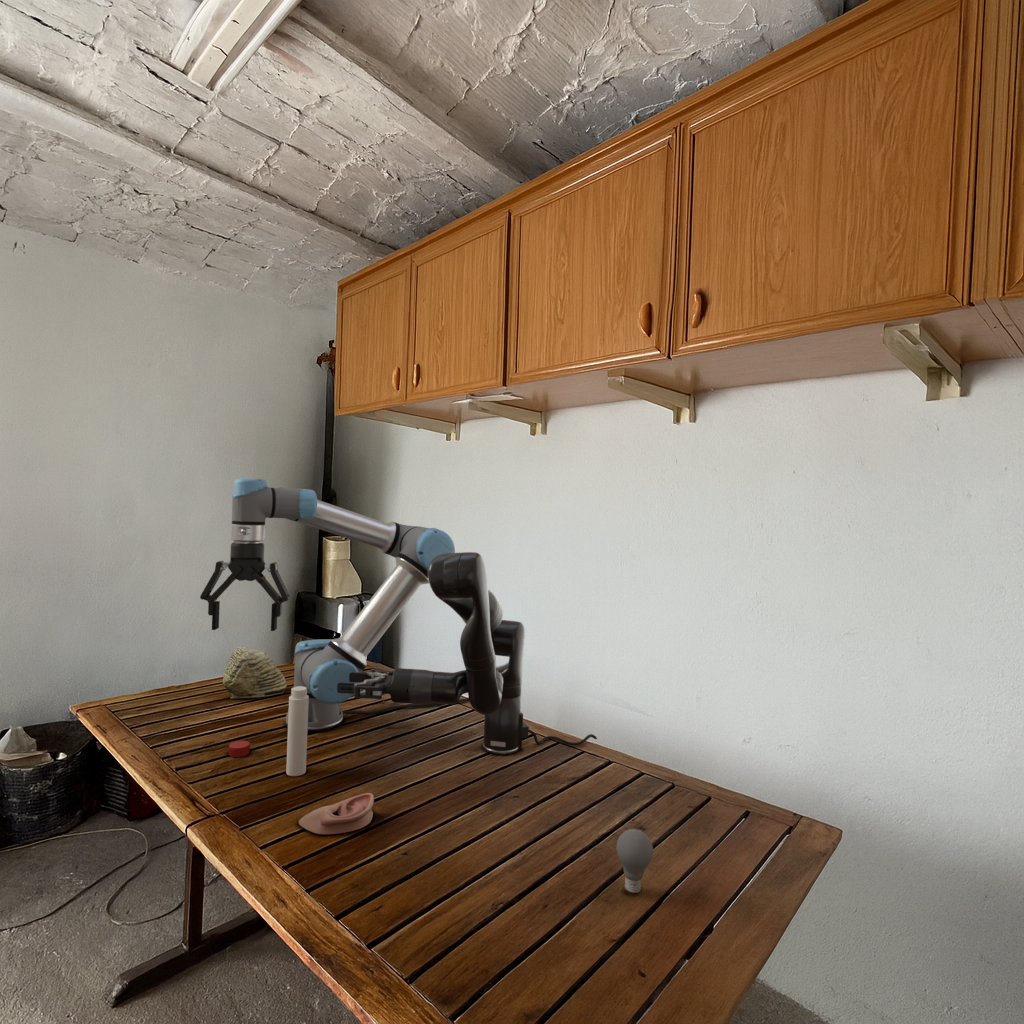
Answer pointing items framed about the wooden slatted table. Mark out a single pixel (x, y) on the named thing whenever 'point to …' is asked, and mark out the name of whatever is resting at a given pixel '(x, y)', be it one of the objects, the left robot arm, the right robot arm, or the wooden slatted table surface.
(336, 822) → the anatomical model
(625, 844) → the light bulb
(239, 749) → the lid
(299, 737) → the white tube
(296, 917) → the wooden slatted table surface
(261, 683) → the fossil
